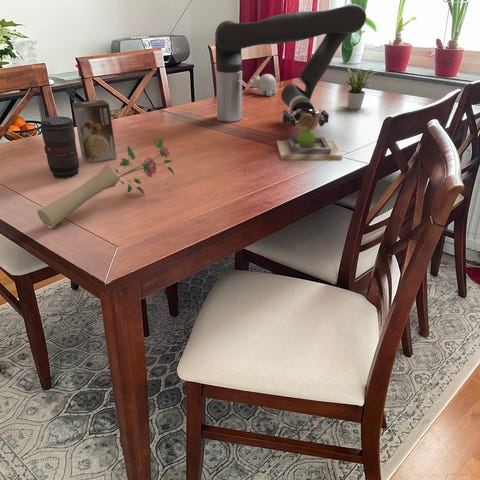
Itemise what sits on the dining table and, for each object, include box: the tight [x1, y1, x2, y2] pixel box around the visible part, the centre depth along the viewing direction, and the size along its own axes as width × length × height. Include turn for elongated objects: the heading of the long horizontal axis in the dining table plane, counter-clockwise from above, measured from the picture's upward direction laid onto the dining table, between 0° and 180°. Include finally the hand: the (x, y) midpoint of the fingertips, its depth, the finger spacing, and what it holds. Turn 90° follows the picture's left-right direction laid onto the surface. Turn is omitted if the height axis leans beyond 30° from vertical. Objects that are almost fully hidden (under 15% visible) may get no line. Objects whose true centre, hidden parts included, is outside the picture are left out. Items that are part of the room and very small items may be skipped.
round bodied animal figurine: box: [250, 73, 277, 97], centre depth 215 cm, size 8×12×9 cm, turn 54°
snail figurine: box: [296, 108, 322, 148], centre depth 147 cm, size 5×6×12 cm
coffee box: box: [71, 99, 118, 164], centre depth 140 cm, size 9×6×16 cm
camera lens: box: [40, 115, 80, 179], centre depth 129 cm, size 8×8×15 cm
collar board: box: [276, 136, 343, 160], centre depth 150 cm, size 18×14×3 cm
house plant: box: [343, 65, 378, 110], centre depth 193 cm, size 14×14×16 cm
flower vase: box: [37, 137, 175, 229], centre depth 116 cm, size 12×12×35 cm
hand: (308, 123), depth 148 cm, fingers open, 8 cm apart
